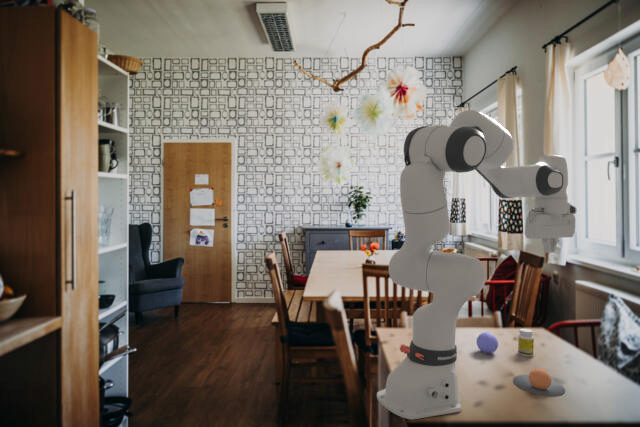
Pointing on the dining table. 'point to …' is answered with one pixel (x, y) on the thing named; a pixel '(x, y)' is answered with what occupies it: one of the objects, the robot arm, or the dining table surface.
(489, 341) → the sphere
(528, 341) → the supplement bottle
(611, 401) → the dining table surface
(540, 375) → the ball
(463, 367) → the dining table surface
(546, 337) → the dining table surface
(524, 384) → the slate disc
